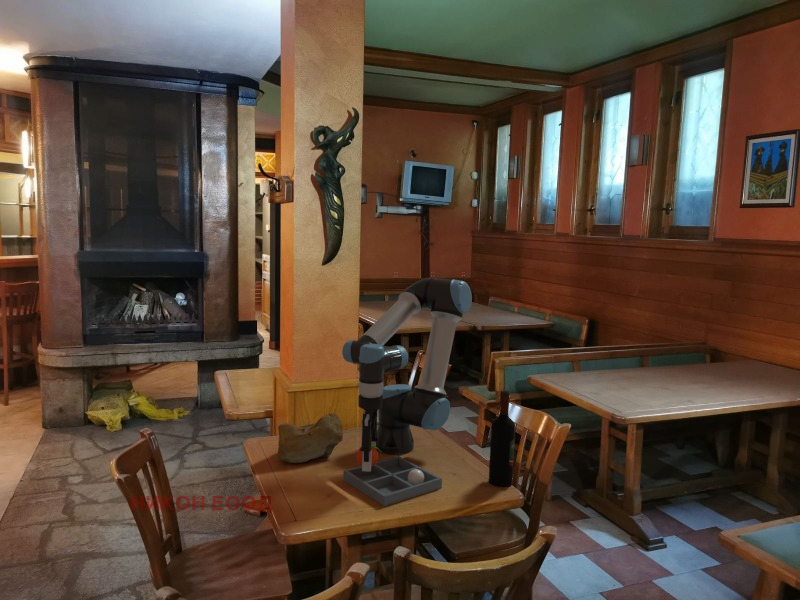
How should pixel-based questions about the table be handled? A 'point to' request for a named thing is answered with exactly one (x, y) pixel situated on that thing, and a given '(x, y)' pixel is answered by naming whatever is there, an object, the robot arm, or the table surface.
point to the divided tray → (391, 481)
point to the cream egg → (415, 477)
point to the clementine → (373, 458)
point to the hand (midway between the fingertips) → (368, 466)
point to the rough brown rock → (309, 439)
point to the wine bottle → (502, 446)
